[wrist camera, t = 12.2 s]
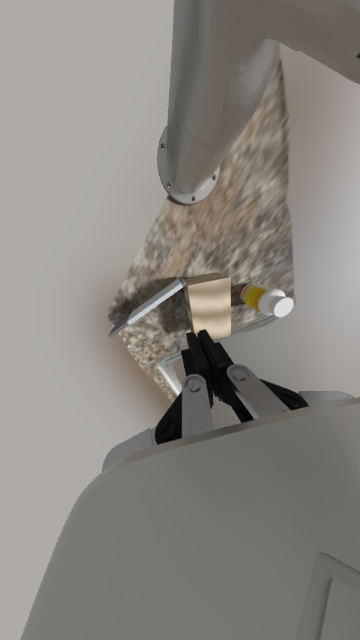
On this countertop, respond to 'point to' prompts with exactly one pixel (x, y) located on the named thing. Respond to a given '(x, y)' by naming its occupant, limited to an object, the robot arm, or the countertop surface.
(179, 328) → the countertop surface
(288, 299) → the supplement bottle
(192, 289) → the cabinet
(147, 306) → the door
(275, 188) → the countertop surface
